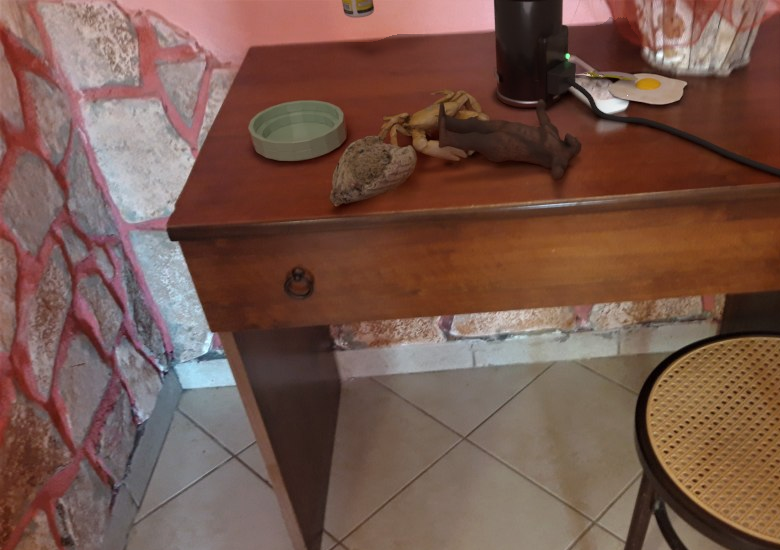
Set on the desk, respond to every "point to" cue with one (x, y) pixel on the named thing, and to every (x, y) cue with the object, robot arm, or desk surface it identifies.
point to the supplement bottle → (358, 8)
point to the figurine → (510, 140)
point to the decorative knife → (613, 75)
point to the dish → (298, 130)
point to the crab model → (433, 124)
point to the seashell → (371, 170)
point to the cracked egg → (649, 89)
